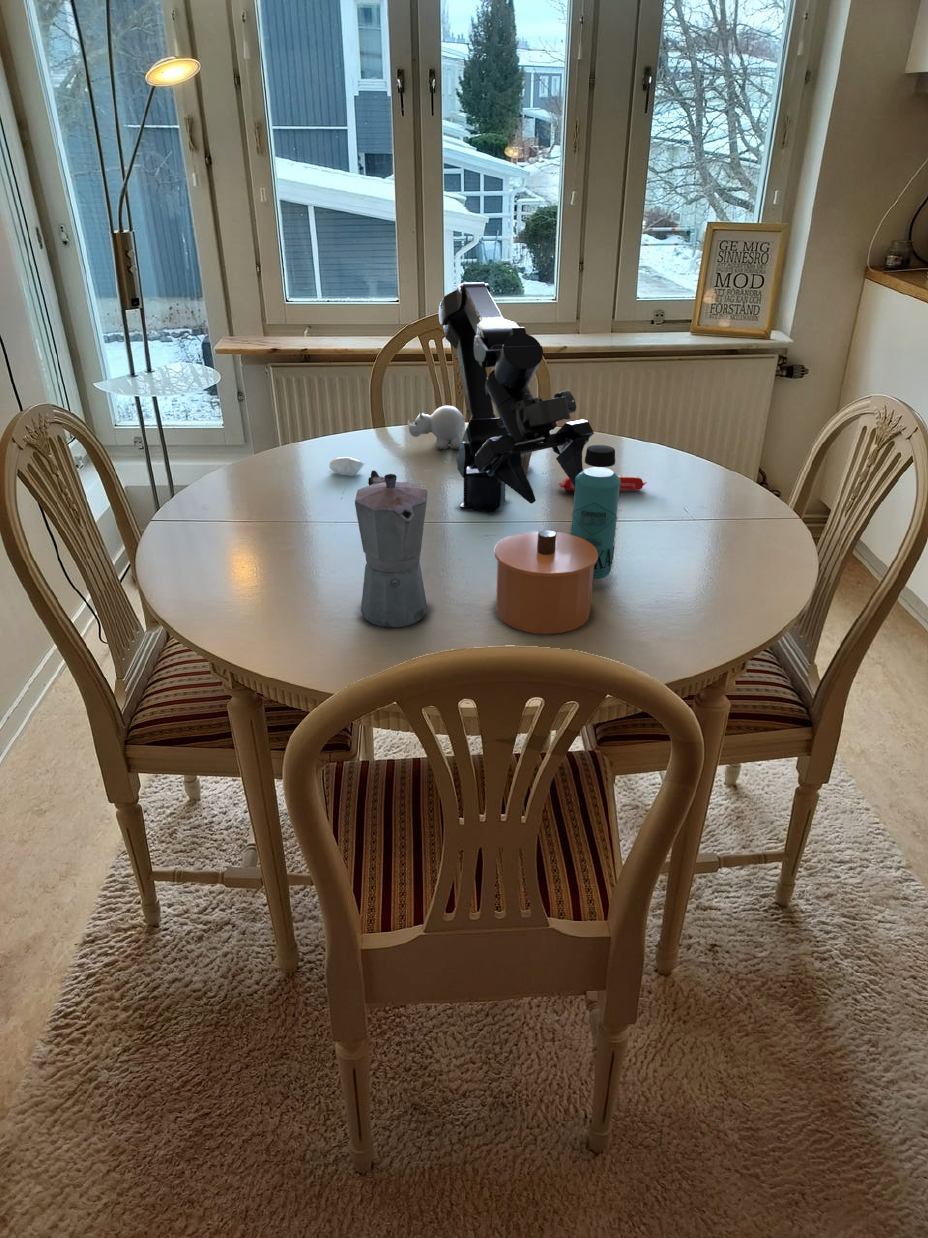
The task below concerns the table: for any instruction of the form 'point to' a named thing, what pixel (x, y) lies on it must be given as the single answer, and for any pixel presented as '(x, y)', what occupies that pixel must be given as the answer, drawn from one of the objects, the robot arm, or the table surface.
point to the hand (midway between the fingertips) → (558, 495)
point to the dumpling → (346, 465)
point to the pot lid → (546, 553)
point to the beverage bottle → (597, 506)
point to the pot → (543, 600)
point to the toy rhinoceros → (440, 426)
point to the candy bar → (626, 484)
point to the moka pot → (392, 550)
